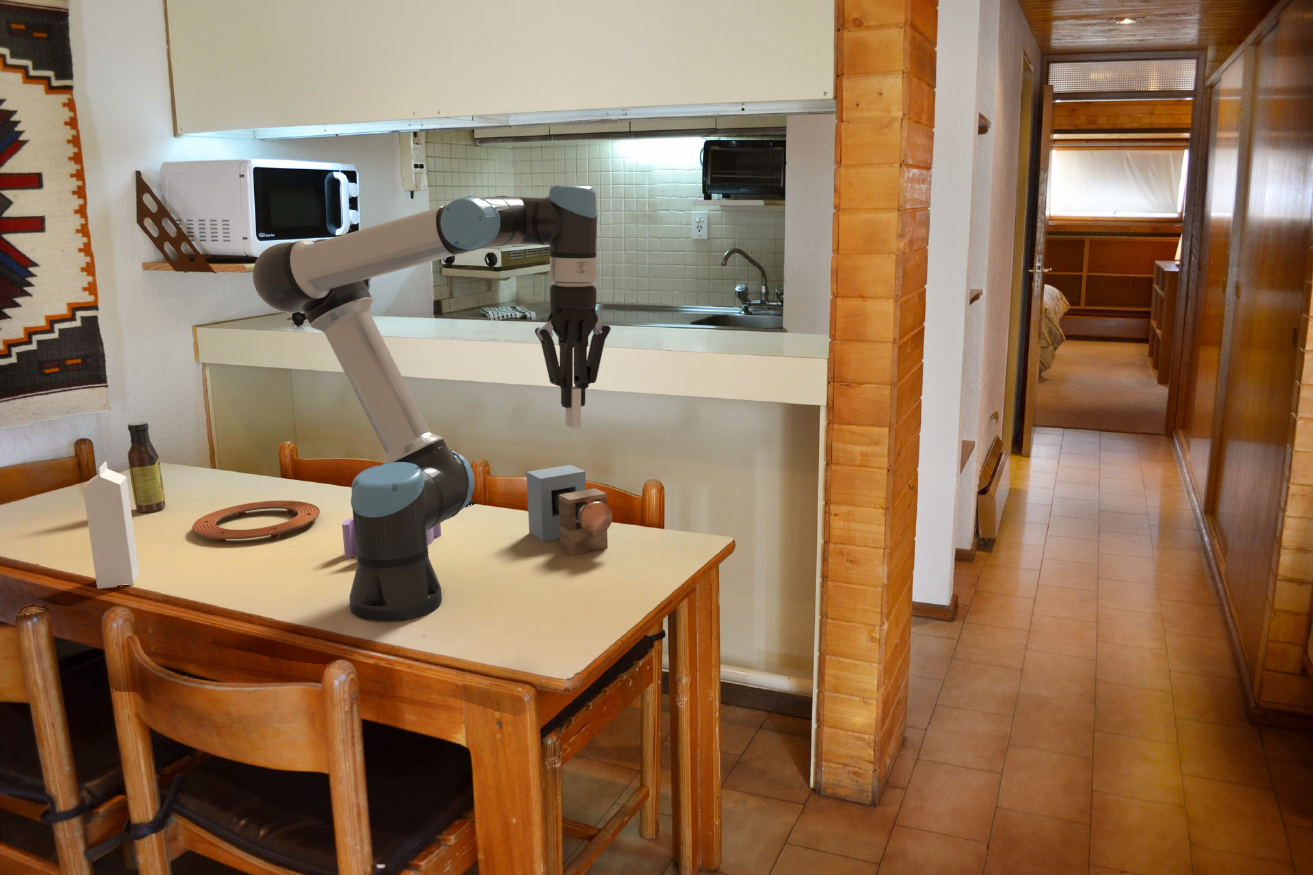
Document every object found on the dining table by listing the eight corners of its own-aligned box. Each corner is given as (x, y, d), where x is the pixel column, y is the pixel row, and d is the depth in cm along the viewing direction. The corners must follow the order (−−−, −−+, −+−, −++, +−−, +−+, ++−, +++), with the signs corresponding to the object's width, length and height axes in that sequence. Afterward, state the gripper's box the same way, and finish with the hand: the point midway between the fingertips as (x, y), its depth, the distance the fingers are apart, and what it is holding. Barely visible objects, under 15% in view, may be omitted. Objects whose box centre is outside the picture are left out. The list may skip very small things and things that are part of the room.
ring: (166, 542, 212) (164, 530, 211) (243, 506, 236) (242, 496, 235) (275, 551, 206) (273, 539, 205) (343, 513, 229) (342, 503, 229)
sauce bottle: (172, 507, 235) (161, 422, 230) (146, 515, 230) (134, 427, 225) (154, 503, 238) (144, 419, 234) (128, 510, 233) (117, 424, 229)
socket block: (542, 541, 207) (540, 478, 204) (529, 533, 213) (526, 471, 210) (587, 532, 212) (585, 471, 209) (572, 524, 218) (570, 464, 215)
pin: (582, 538, 195) (581, 505, 194) (542, 515, 210) (541, 484, 209) (612, 532, 199) (611, 500, 197) (570, 509, 213) (569, 479, 212)
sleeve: (571, 555, 199) (569, 500, 197) (560, 548, 203) (558, 494, 200) (607, 547, 203) (606, 493, 201) (596, 541, 207) (595, 488, 204)
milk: (97, 589, 186) (78, 470, 180) (104, 577, 191) (86, 462, 186) (134, 585, 187) (117, 467, 182) (140, 573, 193) (124, 459, 188)
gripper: (546, 287, 161) (547, 434, 167) (619, 284, 168) (618, 426, 173) (526, 282, 167) (528, 425, 173) (597, 280, 174) (597, 417, 180)
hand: (573, 425), depth 173 cm, fingers closed
